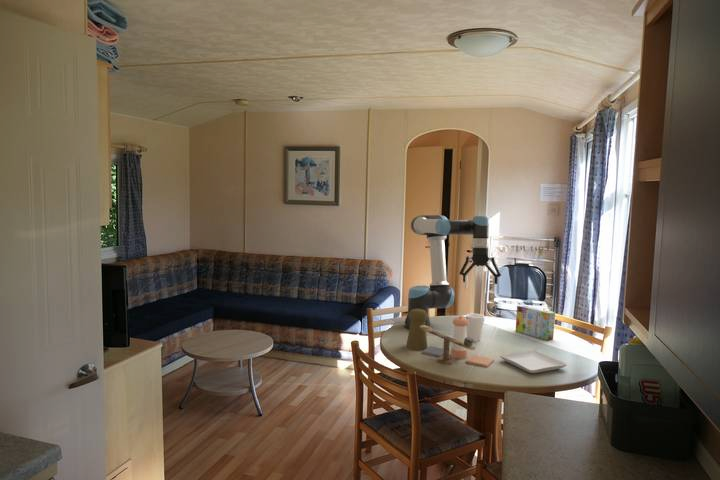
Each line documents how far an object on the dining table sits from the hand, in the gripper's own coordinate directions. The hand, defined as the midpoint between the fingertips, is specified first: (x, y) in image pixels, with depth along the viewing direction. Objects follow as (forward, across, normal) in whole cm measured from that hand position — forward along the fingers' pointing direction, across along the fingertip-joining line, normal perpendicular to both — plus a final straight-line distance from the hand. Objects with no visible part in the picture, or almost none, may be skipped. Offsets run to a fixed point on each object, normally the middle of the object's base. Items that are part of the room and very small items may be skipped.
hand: (479, 289), depth 244 cm
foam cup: (+29, -6, +14) cm, 33 cm away
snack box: (+29, +21, +41) cm, 54 cm away
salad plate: (+32, +26, -11) cm, 43 cm away
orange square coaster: (+31, +4, -19) cm, 36 cm away
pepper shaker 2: (+30, -6, -16) cm, 35 cm away
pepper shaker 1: (+29, -28, -13) cm, 43 cm away
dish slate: (+29, -17, -16) cm, 38 cm away
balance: (+30, -9, -26) cm, 41 cm away
